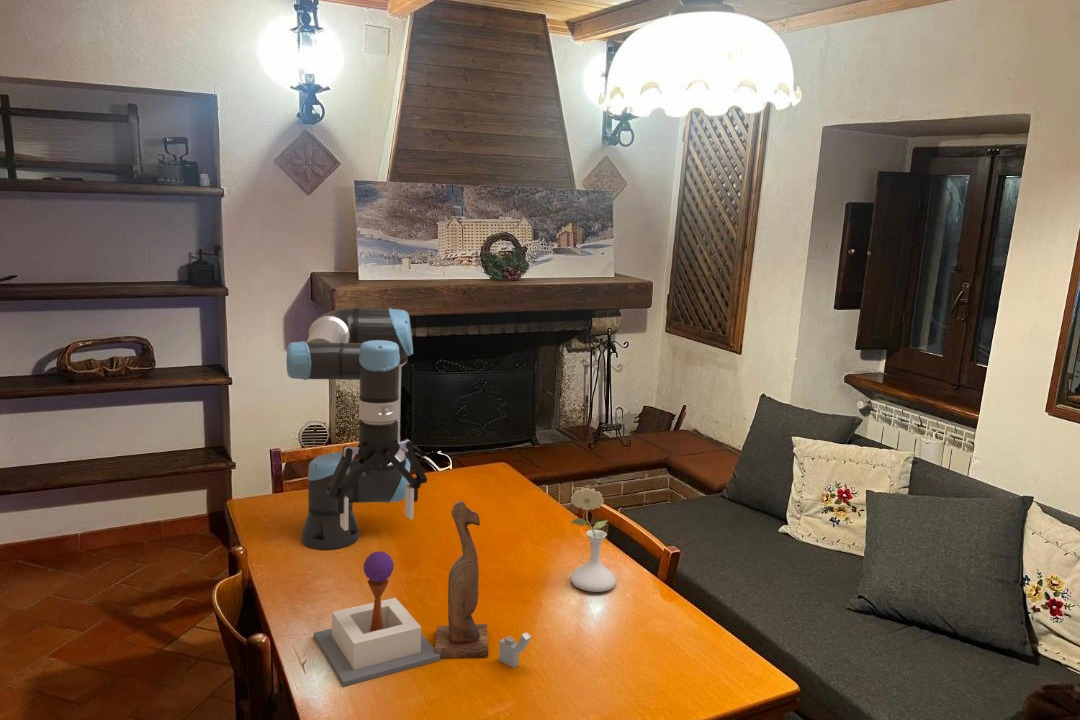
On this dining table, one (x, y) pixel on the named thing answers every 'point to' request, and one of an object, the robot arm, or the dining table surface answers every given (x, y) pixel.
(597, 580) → the flower in vase
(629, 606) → the dining table surface
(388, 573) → the kendama
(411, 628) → the socket
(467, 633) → the bird sculpture
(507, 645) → the lighter
